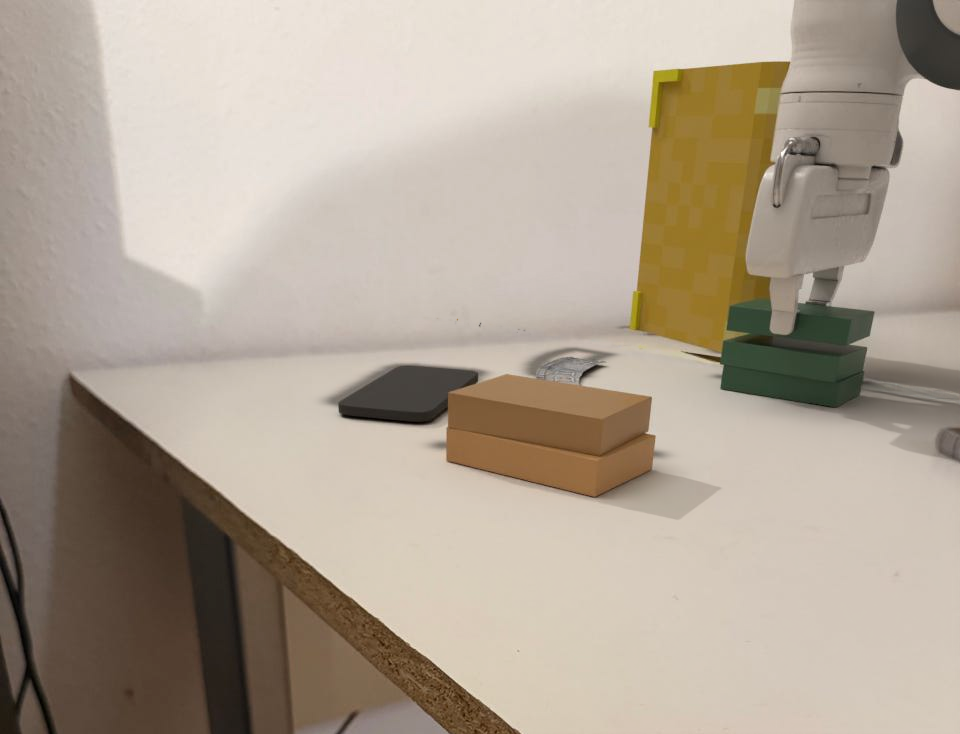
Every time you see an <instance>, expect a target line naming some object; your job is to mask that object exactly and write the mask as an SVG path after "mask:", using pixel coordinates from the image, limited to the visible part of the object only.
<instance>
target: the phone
mask: <svg viewBox="0 0 960 734" xmlns="http://www.w3.org/2000/svg"><path fill="white" fill-rule="evenodd" d="M476 383H479V372H477V371H476V370H470V369H459V368H447V367H434V366H422V365H399V366H396V367H394V368H392V369H391V370H389V371H387V372H386V373H384V374H383V375H381V376H379V377H378V378H376V379H375V380H372V381H370V382H369V383H368V384H366V385H364V386H363V387H361V388H359V389H358V390H356V391H354V392H352V393H351V394H349V395H348V396H346V397H344V398H342V399H341V400H339V402H338V403H337V405H338V413H339V414H341V415H345V416H352V417H359V418H370V419H381V420H392V421H401V422H402V421H403V422H415V423H423V422H429V421H431V420H433V419H434V418H436V417H437V416H438V415H439V414H441V413H442V412H444V410H446V409H448V392H451V391H454V390H457V389H461V388H464V387H467V386H470V385H473V384H476Z"/></svg>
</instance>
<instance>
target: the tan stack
mask: <svg viewBox="0 0 960 734" xmlns="http://www.w3.org/2000/svg"><path fill="white" fill-rule="evenodd" d="M652 403H653V396H650V395H643V394H637V393H630V392H624V391H618V390H611V389H607V388H606V389H604V388H599V387H592V386H586V385H580V384H579V385H574V384H567V383H561V382H554V381H548V380H542V379H537V378H534V377H528V376H522V375H516V374H509V373H505V374H502V375H499V376H496V377H493V378H490V379H489V378H488V379H486V380H484V381H480V382H477V383H476V384H473V385H470V386H467V387H464V388H461V389H457V390H454V391H451V392H448V407H447V426H446V432H445V433H446V439H445V440H446V442H445V443H446V446H445V450H446V451H445V455H446V456H445V458H446V459H445V461H446V462H450V463H454V464H459V465H462V466H466V467H471V468H474V469H479V470H483V471H487V472H491V473H496V474H499V475H503V476H507V477H511V478H515V479H520V480H524V481H528V482H532V483H536V484H540V485H544V486H548V487H552V488H556V489H560V490H564V491H567V492H568V491H569V492H573V493H577V494H581V495H584V496H590V497H592V498H597V497H598V496H600V495H603V494H604V493H606V492H608V491H610V490H613V489H614V488H617V487H618V486H621V485H622V484H625V483H627V482H629V481H631V480H633V479H635V478H637V477H639V476H641V475H643V474H645V473H647V472H650V471H652V470H653V464H654V455H655V447H656V439H657V436H656V435H655V434H651V433H648V432H649V429H650V420H651V411H652Z"/></svg>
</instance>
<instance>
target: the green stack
mask: <svg viewBox="0 0 960 734" xmlns="http://www.w3.org/2000/svg"><path fill="white" fill-rule="evenodd" d="M867 353H868V346H862V345H855V344H849V345H847V346H842V345H835V344H827V343H819V342H812V341H804V340H797V339H789V338H781V337H774V336H766V335H759V334H751V333H750V334H746V335H742V336H738V337H735V338H731V339H727V340H723V346H722V353H721V352H720V354H721V355H720V357H721V361H720V362H719V364H720V365H722V373H721V380H720V390H724V391H725V390H726V391H731V392H737V393H738V392H739V393H743V394H749V395H755V396H762V397H768V398H774V399H779V400H780V399H781V400H787V401H793V402H799V403H805V404H810V403H812V404H811V405H816V404H818V405H817V406H823V405H824V407H829V406H830V408H838V407H839V406H841V405H843V404H845V403H847V402H848V401H849V402H850V401H851V400H852V399H854V398H856V397H858V396H860V395H861V390H862V387H863V382H864V376H865V370H864V368H865V367H864V366H865V363H866V357H867Z"/></svg>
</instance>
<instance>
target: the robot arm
mask: <svg viewBox="0 0 960 734" xmlns="http://www.w3.org/2000/svg"><path fill="white" fill-rule="evenodd" d="M790 19H791V20H790V28H789V29H790V31H789V32H790V40H791V42H790V43H791V55H790V61H789V62H790V66H789V69H788V72H787V75H786V77H785V80H784V82H783V85H782V88H781V92H780V94H781V95H780V98H779V105H778V112H777V118H776V125H775V131H774V137H773V144H772V151H771V157H770V161H771V162H772V163H775V165H772V166H770V167H769V168H768V169H767V170H766V172H765V173H764V175H763V178H762V181H761V184H760V187H759V191H758V195H757V199H756V203H755V208H754V213H753V218H752V222H751V228H750V233H749V238H748V243H747V249H746V267H747V271H748V273H749V274H750V275H756V276H764V277H771V280H770V287H769V290H770V298H771V306H772V316H771V322H770V331H771V332H772V333H774V334H781V335H788V334H791V333H793V332H795V331H796V330H797V327H798V321H799V316H800V310H798V303H799V293H800V290H802V288H803V282H804V277H805V275H809V274H812V278H813V282H812V286H811V290H810V293H809V299H807V300H805V304H814V305H823V306H832V305H833V301H834V299H835V297H836V294H837V291H838V289H839V287H840V285H841V282H842V280H843V275H844V270H845V267H846V266H851V265H855V264H859V263H864V261H865V260H866V259H867V258H868V256H869V253H870V252H871V249H872V247H873V245H874V242H875V239H876V235H877V232H878V228H879V225H880V220H881V217H882V213H883V211H884V205H885V201H886V198H887V193H888V190H889V184H890V174H891V173H890V171H889V169H896V168H898V166H899V165H900V163H901V159H902V154H903V150H904V138H903V136H902V134H901V131H900V128H899V127H900V115H901V110H902V105H903V100H904V94H905V89H906V86H907V85H908V84H909V82H910V81H912V80H915V79H919V80H920V79H921V80H922V79H923V80H927V81H928V82H930V83H932V84H934V85H937V86H939V87H941V88H944V89H947V90H955V91H958V92H959V91H960V0H794V1H793V7H792V13H791V18H790Z"/></svg>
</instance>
